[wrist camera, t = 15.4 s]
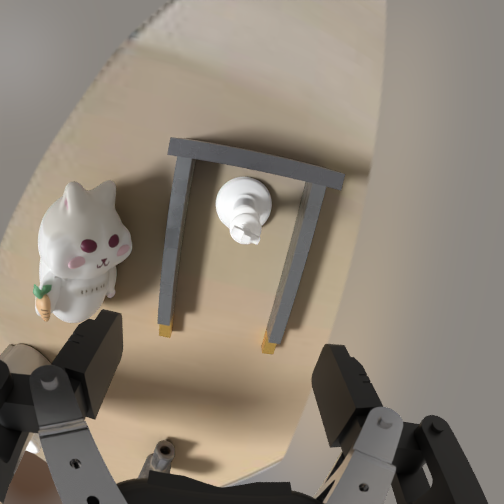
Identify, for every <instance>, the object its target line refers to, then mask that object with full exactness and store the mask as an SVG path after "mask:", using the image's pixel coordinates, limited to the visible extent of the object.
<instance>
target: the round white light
mask: <svg viewBox="0 0 504 504" xmlns="http://www.w3.org/2000/svg"><path fill="white" fill-rule="evenodd" d="M41 447H42V445H41V442H40V438H39V434H38V433H34V434H33V436H32V438H31V440H30V442H29V444H28V446H27V448H26V450H27V451H29V452H32V453H38V452H39V451H40V448H41Z"/></svg>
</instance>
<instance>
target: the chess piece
mask: <svg viewBox="0 0 504 504" xmlns="http://www.w3.org/2000/svg"><path fill="white" fill-rule="evenodd" d="M271 207H272V200H271V196H270V193H269V191H268V189H267V188H266V187H265V186H264V184H262V183H261V182H260V181H258V180H256V179H254V178H251V177H237V178H234V179H231V180H229V181H228V182H227V183H225V184H224V185H223V186H222V187H221V189H220V190H219V192H218V195H217V198H216V210H217V213H218V216H219V218H220V220H221V221H222V222H223V223H224V224H225V225H226V226H227V227H228V228H230V234H231V236H232V238H233V239H234V240H235V241H236V242H238V243H241V244H250V243H254V244H256V245H257V244H258V242H259V240H260V234H261V226H262V225H263V224H264V223H265V222H266V220H267V219H268V217H269V215H270V212H271Z"/></svg>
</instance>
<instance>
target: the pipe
mask: <svg viewBox="0 0 504 504" xmlns="http://www.w3.org/2000/svg"><path fill="white" fill-rule="evenodd" d="M174 455H175V449H174V446H173V444H172V443H171V442H168V441H165V440H163V441H160V442H158V444H157V445H156V448H155V451H154V453H153V454H152V455H149V456H148V457H147V459H146V461H145V463H144V466H143V468H142V470H141V472H140V475H139V477H138V478H148V476H149V470H153V471H158V472H163V473H169V474H170V469H171V463H170V462H171V461H172V459H173V458H174Z"/></svg>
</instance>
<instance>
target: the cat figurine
mask: <svg viewBox="0 0 504 504" xmlns="http://www.w3.org/2000/svg"><path fill="white" fill-rule="evenodd" d="M115 197H116V185H115V183H114V182H113V181H111V180H107V181H105V182H103V183H101V184H100V185H99V186H97V187H96V188H94V189H93V190H90V191H88V190H85V189H84V188H83V186H82V185H81V184H80V183H78V182H75V181H74V182H70V183H69V184H67V186H66V188H65V191H64V195H63V196H62V197H60V198H59V199H58V200H56V201H55V202H54V203H53V204H52V205H51V206H50V208H49V209H48V210H47V212H46V213H45V215H44V217H43V219H42V222H41V226H40V230H39V236H38V249H39V254H40V256H41V259H40V268H39V275H40V286H39V287H37V286H36V285H35V284H34V289H33V293H34V295H35V296H36V300H35V310H36V313H37V314H38V315H39V316H41V317H42V318H43V320H44V321H45V322H47V321H48V320H49V318H50V314H51V313H52V312H53V314H54V315H55V316H56V317H58V318H59V319H61V320H63V321H65V322H69V323H78V322H82V321H84V320H86V319H88V318H90V317H91V316H92V315H93V314H95V312H96V311H97V310H98V309H99V308H100V306H101V304H102V303H103V301H104V298H105V296H106V295H107V297H108V298H110V299H111V297H113V296H114V295H115V289H114V287H115V282H116V277H117V271H116V266H115V265H117V264H119V263H121V262H122V261H124V260H125V259H126V258H127V257H128V256H129V255H130V253H131V251H132V241H131V235H130V232H129V231H128V229H127V228H126V227H125V226H124V225H123V224H122V222H121V219H120V217H119V215H118V213H117V212H116V209H115Z"/></svg>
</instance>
